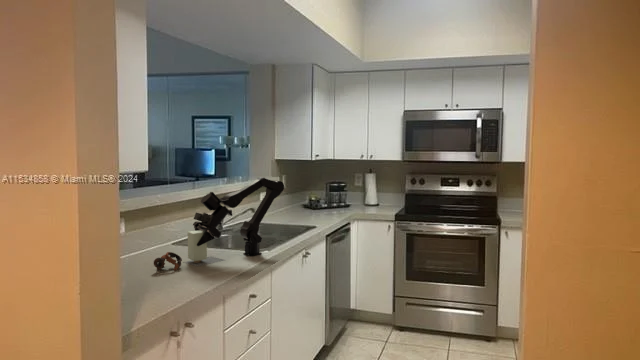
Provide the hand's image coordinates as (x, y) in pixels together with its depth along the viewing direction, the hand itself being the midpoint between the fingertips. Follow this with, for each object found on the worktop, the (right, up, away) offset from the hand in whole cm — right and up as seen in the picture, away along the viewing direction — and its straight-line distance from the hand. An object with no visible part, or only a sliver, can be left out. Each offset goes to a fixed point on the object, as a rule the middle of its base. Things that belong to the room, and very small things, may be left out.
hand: (194, 244), depth 210 cm
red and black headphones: (-9, -10, -10) cm, 17 cm away
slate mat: (+4, -8, +3) cm, 10 cm away
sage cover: (+1, -7, +1) cm, 7 cm away
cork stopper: (+1, -8, +1) cm, 8 cm away
